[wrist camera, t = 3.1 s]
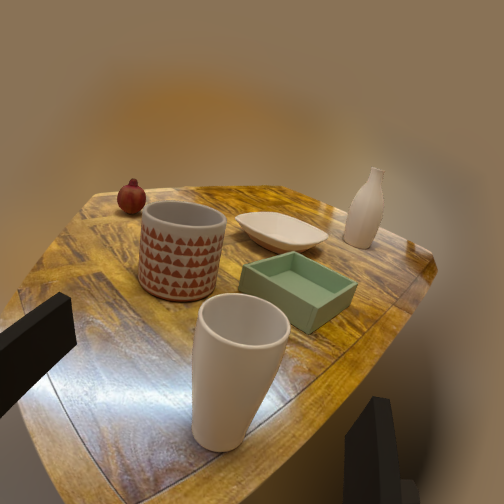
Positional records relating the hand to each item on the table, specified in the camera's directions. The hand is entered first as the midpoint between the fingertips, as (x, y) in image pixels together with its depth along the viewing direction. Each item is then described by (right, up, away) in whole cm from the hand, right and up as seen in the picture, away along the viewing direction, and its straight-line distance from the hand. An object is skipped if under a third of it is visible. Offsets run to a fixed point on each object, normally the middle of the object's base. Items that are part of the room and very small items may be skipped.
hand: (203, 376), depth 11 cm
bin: (+10, -4, +45) cm, 47 cm away
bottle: (+36, +7, +87) cm, 94 cm away
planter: (-11, 0, +42) cm, 44 cm away
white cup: (-2, -13, +16) cm, 21 cm away
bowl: (+9, +7, +70) cm, 71 cm away
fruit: (-31, +15, +69) cm, 77 cm away
